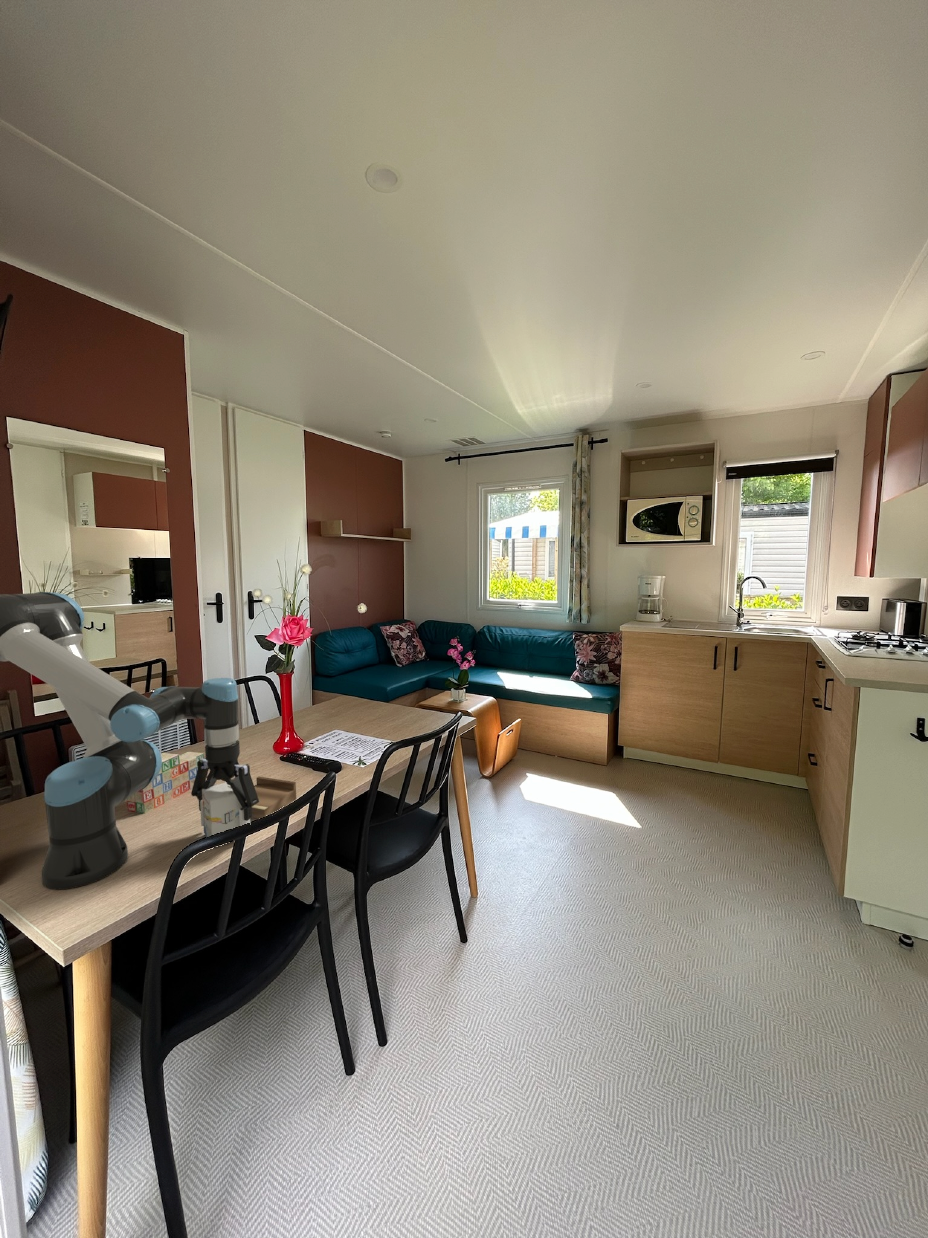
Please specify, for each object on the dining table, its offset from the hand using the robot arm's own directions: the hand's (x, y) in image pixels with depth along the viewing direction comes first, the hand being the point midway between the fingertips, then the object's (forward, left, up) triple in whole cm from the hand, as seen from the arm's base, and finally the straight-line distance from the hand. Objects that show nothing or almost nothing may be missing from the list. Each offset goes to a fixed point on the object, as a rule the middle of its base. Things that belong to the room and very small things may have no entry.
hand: (225, 827), depth 121 cm
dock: (+16, +3, -2) cm, 16 cm away
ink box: (0, 0, -2) cm, 2 cm away
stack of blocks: (+13, +34, -3) cm, 36 cm away
